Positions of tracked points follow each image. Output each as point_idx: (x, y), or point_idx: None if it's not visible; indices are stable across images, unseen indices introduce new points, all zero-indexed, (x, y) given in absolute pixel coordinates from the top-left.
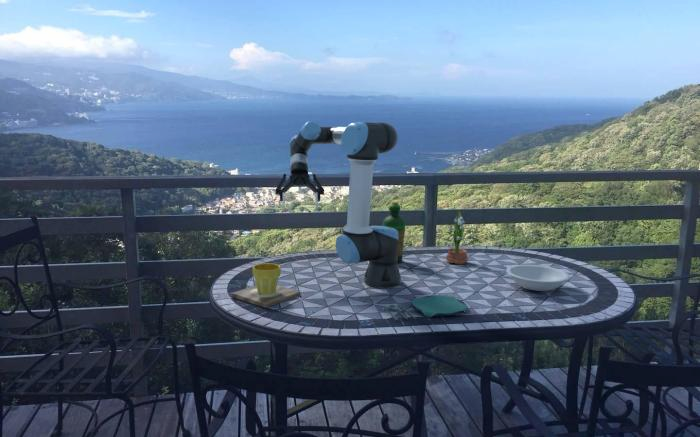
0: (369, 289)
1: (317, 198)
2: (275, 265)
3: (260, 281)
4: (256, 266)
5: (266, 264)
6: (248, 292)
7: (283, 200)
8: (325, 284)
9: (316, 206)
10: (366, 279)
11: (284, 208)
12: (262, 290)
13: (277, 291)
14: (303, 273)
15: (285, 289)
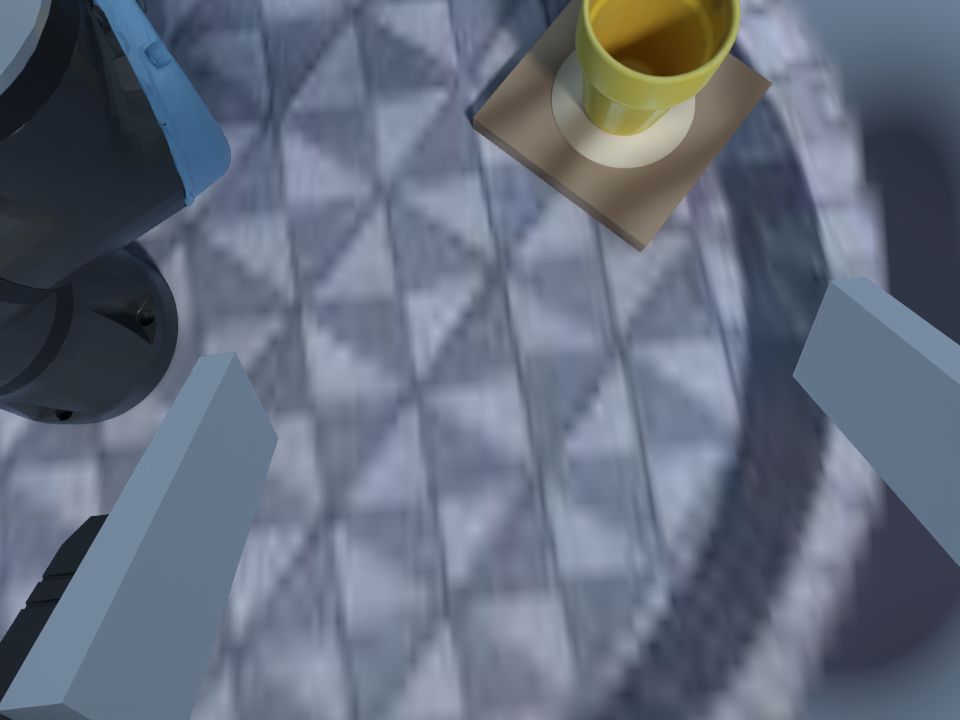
0: (164, 225)
1: (131, 484)
2: (618, 65)
3: (661, 6)
4: (723, 42)
5: (673, 77)
6: (700, 93)
7: (936, 343)
8: (367, 287)
9: (244, 384)
10: (155, 286)
11: (798, 361)
12: (638, 47)
13: (574, 108)
14: (486, 466)
15: (543, 141)
